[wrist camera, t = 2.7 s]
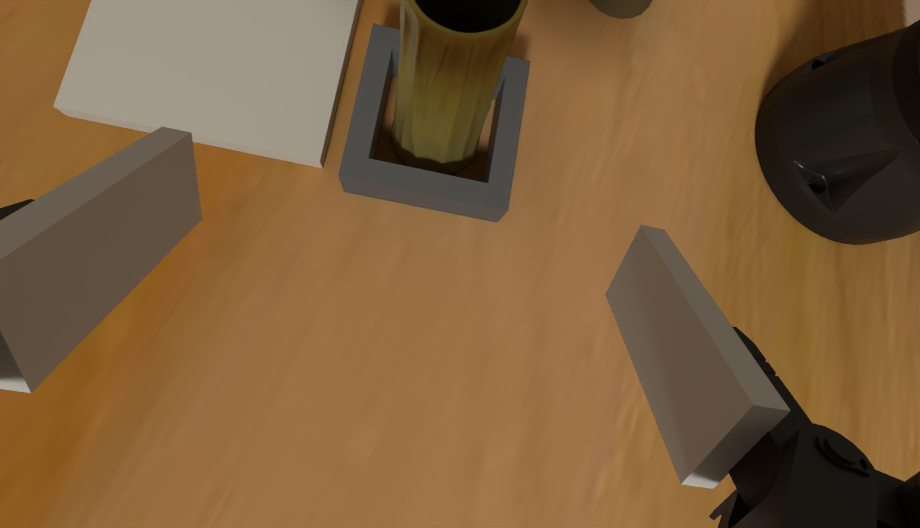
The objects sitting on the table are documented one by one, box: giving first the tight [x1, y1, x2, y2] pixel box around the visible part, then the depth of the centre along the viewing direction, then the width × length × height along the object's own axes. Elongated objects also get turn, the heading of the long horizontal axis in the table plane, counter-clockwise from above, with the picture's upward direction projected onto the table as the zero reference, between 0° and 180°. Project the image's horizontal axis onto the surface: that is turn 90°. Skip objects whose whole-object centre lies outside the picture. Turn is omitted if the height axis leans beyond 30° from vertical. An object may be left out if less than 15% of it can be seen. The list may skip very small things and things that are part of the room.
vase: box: [392, 0, 528, 175], centre depth 25 cm, size 6×6×14 cm
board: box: [53, 0, 362, 168], centre depth 31 cm, size 16×16×1 cm
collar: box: [339, 23, 530, 222], centre depth 31 cm, size 11×11×3 cm
